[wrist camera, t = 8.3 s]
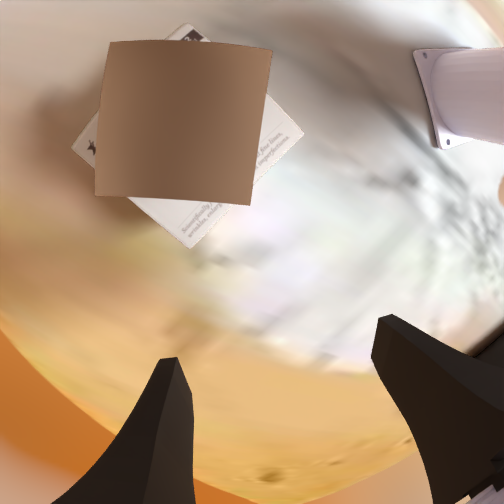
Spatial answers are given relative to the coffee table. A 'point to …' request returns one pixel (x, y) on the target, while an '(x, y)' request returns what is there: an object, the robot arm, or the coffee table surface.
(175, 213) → the small box
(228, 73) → the walnut block
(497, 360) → the portable speaker
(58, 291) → the coffee table surface
